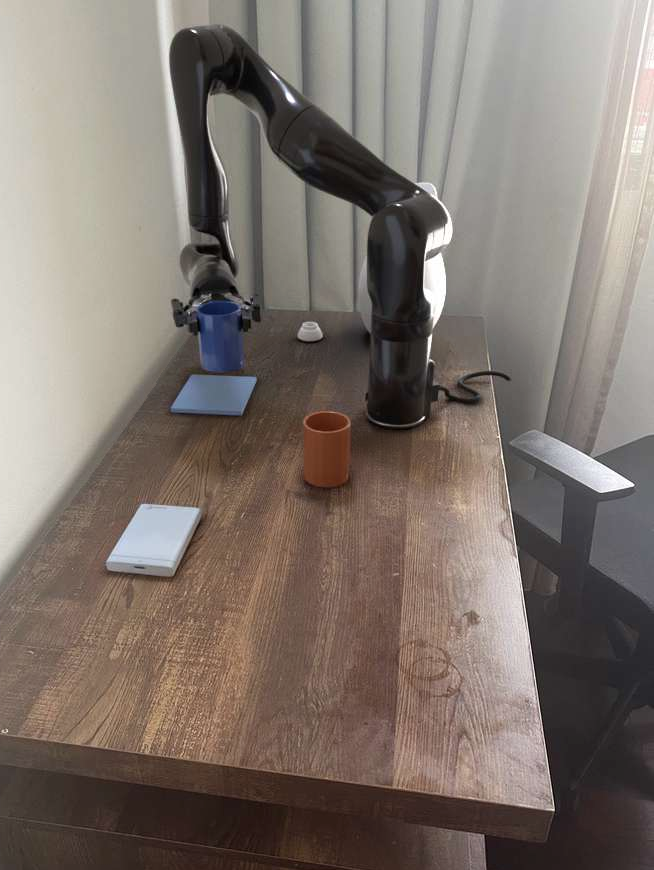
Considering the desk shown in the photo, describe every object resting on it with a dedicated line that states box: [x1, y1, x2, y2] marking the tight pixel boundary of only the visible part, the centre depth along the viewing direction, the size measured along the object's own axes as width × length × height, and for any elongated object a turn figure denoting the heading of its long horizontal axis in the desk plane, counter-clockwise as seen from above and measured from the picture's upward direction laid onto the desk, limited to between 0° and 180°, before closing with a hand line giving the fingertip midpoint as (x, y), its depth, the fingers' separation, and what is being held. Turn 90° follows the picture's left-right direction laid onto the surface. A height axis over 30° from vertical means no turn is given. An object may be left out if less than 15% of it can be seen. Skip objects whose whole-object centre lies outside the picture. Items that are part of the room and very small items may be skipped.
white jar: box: [297, 321, 323, 342], centre depth 149 cm, size 5×3×5 cm
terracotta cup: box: [302, 410, 352, 488], centre depth 102 cm, size 6×6×8 cm
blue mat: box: [169, 374, 258, 417], centre depth 127 cm, size 14×12×1 cm
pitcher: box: [357, 181, 447, 334], centre depth 139 cm, size 24×17×28 cm
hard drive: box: [105, 503, 202, 578], centre depth 91 cm, size 2×8×12 cm
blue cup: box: [196, 301, 245, 373], centre depth 108 cm, size 6×6×8 cm
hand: (220, 327), depth 105 cm, fingers closed on blue cup, 6 cm apart
